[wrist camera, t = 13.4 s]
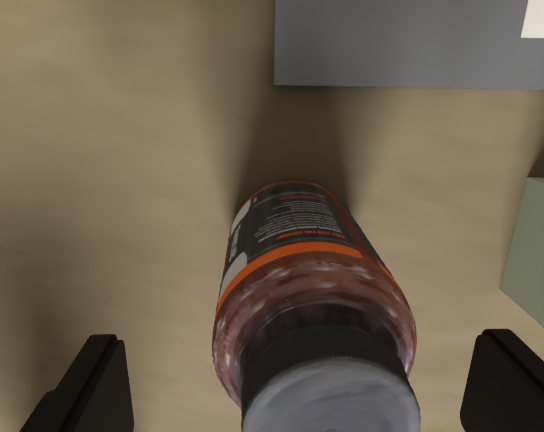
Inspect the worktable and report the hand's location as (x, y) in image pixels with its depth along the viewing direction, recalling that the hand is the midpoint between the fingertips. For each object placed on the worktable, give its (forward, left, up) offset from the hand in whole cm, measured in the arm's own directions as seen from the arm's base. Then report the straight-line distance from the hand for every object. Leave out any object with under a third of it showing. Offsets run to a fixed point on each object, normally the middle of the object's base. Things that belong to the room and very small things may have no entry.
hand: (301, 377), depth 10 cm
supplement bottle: (0, 0, -10) cm, 10 cm away
